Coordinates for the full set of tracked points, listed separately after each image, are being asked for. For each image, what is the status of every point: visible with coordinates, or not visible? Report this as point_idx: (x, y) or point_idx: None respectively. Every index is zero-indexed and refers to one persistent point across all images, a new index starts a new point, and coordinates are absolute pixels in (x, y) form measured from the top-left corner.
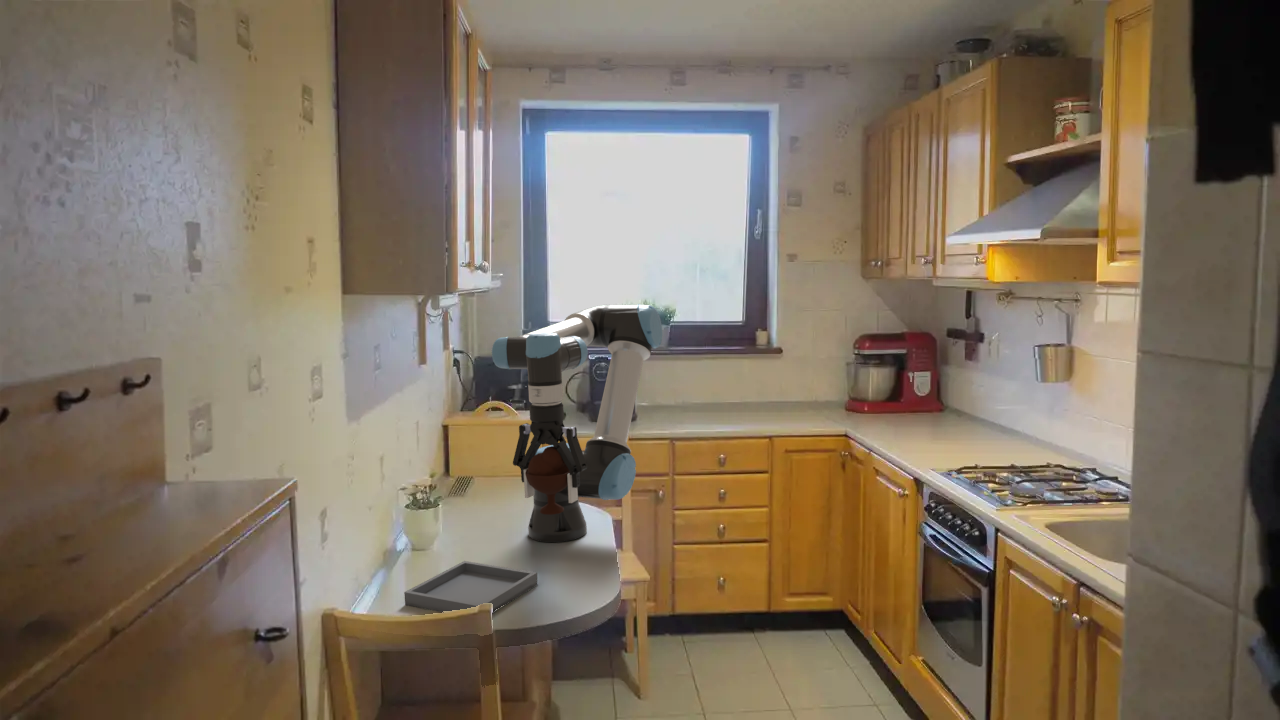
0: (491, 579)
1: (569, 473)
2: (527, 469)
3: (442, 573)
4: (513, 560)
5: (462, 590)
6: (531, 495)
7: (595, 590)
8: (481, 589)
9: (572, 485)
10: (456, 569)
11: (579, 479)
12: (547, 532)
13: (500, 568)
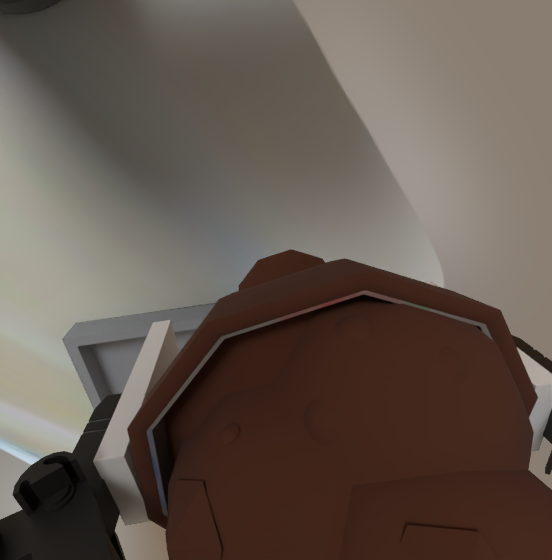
0: (178, 337)
1: (550, 471)
2: (163, 524)
3: (97, 405)
4: (100, 206)
5: None
6: (176, 345)
7: (400, 258)
8: None
9: None
10: (90, 369)
11: (547, 363)
12: None
13: (182, 329)
